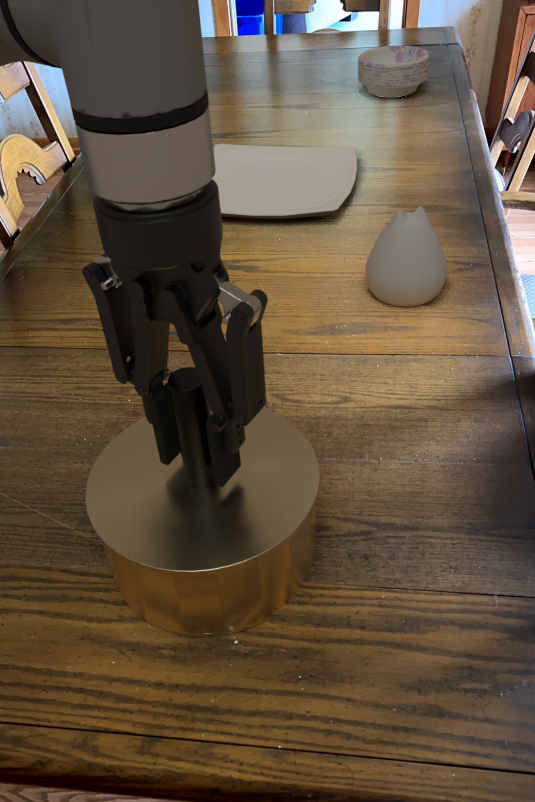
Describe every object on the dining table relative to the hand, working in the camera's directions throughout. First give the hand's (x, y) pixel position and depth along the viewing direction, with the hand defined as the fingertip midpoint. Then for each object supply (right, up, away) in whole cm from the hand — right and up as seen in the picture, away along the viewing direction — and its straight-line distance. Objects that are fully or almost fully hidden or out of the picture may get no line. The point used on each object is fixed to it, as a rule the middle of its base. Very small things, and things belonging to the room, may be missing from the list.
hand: (200, 463), depth 57 cm
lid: (0, -1, +1) cm, 2 cm away
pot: (+1, -8, +7) cm, 11 cm away
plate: (+6, +41, +66) cm, 78 cm away
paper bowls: (+33, +73, +101) cm, 129 cm away
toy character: (+23, +19, +38) cm, 48 cm away
